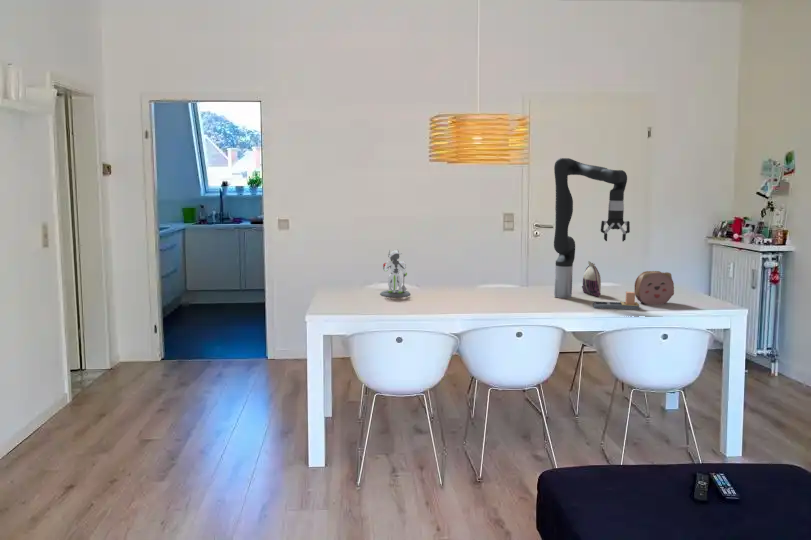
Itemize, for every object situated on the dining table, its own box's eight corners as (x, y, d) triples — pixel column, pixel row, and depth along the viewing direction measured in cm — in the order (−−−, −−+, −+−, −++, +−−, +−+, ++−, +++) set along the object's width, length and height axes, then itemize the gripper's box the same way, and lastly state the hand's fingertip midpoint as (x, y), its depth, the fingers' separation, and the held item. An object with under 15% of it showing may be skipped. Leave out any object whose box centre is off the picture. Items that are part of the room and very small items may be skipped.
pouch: (573, 291, 419) (575, 258, 416) (586, 290, 421) (588, 258, 419) (595, 298, 395) (597, 264, 393) (609, 298, 397) (611, 263, 395)
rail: (594, 308, 369) (594, 303, 369) (592, 305, 377) (592, 300, 377) (639, 309, 366) (639, 305, 366) (636, 306, 374) (636, 302, 373)
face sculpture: (639, 304, 379) (640, 273, 376) (632, 302, 385) (633, 271, 383) (674, 303, 382) (675, 272, 380) (666, 301, 389) (668, 270, 387)
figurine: (411, 292, 414) (411, 248, 410) (408, 297, 397) (409, 251, 393) (382, 291, 415) (382, 248, 412) (378, 296, 399) (378, 251, 395)
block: (626, 308, 369) (626, 292, 368) (625, 307, 373) (625, 291, 372) (634, 308, 368) (635, 293, 367) (633, 307, 372) (634, 291, 371)
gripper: (629, 209, 375) (627, 240, 377) (600, 208, 377) (599, 240, 380) (631, 210, 368) (629, 242, 370) (602, 209, 370) (601, 241, 372)
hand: (614, 241), depth 375 cm, fingers open, 8 cm apart
